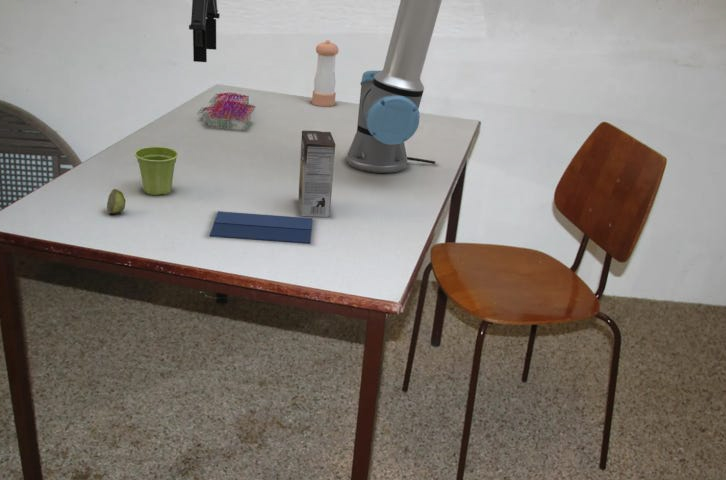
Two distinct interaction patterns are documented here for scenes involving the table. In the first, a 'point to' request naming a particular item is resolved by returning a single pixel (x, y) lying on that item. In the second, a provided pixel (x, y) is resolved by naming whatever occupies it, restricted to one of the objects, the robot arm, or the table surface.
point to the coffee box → (316, 173)
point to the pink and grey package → (227, 110)
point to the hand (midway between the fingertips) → (205, 55)
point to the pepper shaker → (325, 75)
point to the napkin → (262, 227)
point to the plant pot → (156, 168)
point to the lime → (115, 202)
